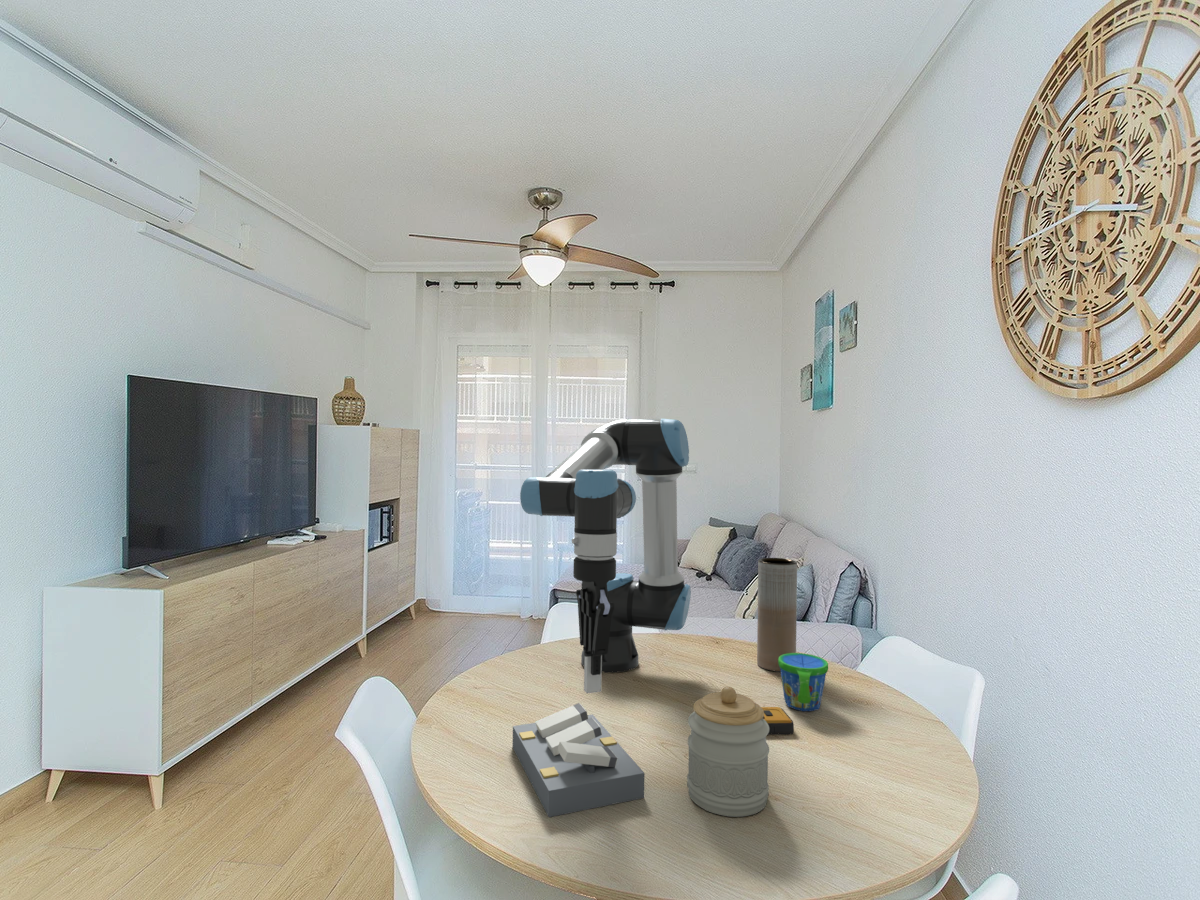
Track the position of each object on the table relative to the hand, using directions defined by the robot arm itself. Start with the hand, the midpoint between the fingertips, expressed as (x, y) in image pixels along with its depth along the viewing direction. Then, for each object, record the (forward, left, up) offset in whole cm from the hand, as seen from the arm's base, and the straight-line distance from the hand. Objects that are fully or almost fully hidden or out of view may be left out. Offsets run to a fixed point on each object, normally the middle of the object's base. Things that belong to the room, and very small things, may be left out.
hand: (592, 690), depth 110 cm
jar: (+16, +18, -14) cm, 27 cm away
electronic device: (-5, +37, -14) cm, 40 cm away
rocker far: (-7, -3, -8) cm, 11 cm away
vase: (-34, +65, -14) cm, 75 cm away
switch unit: (0, -3, -14) cm, 14 cm away
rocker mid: (0, -3, -8) cm, 8 cm away
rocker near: (+7, -3, -8) cm, 11 cm away
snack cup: (-10, +54, -14) cm, 56 cm away
